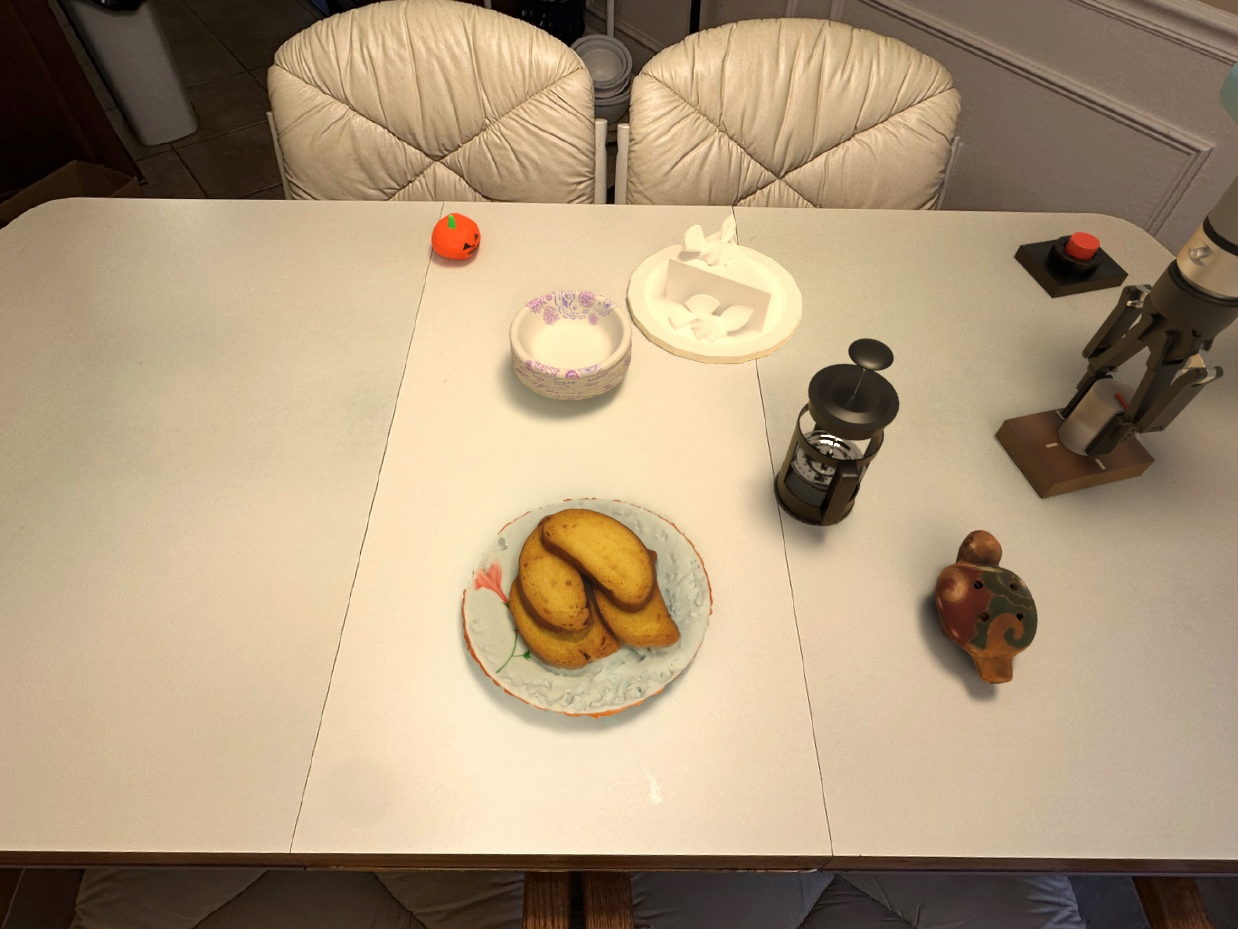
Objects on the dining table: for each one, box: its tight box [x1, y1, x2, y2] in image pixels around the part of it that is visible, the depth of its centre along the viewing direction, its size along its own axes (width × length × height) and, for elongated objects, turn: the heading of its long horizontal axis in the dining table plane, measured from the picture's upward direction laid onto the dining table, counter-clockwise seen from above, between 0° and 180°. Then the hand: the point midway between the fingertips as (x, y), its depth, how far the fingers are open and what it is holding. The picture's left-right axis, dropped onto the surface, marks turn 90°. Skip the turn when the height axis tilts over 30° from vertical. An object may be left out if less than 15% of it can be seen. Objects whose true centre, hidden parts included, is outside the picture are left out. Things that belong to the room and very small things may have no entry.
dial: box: [1058, 378, 1136, 456], centre depth 86 cm, size 5×5×8 cm
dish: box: [627, 213, 803, 364], centre depth 102 cm, size 25×25×11 cm
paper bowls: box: [508, 289, 633, 401], centre depth 95 cm, size 15×15×8 cm
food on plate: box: [461, 497, 714, 720], centre depth 75 cm, size 25×25×7 cm
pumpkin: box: [430, 212, 482, 260], centre depth 110 cm, size 7×8×6 cm
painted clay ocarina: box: [934, 529, 1039, 685], centre depth 75 cm, size 10×15×8 cm, turn 1°
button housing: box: [1013, 234, 1130, 299], centre depth 112 cm, size 12×10×4 cm
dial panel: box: [994, 406, 1156, 499], centre depth 90 cm, size 14×10×3 cm
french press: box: [773, 337, 901, 527], centre depth 78 cm, size 12×9×23 cm
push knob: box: [1065, 231, 1101, 260], centre depth 110 cm, size 4×4×2 cm
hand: (1084, 432), depth 88 cm, fingers closed on dial, 5 cm apart
